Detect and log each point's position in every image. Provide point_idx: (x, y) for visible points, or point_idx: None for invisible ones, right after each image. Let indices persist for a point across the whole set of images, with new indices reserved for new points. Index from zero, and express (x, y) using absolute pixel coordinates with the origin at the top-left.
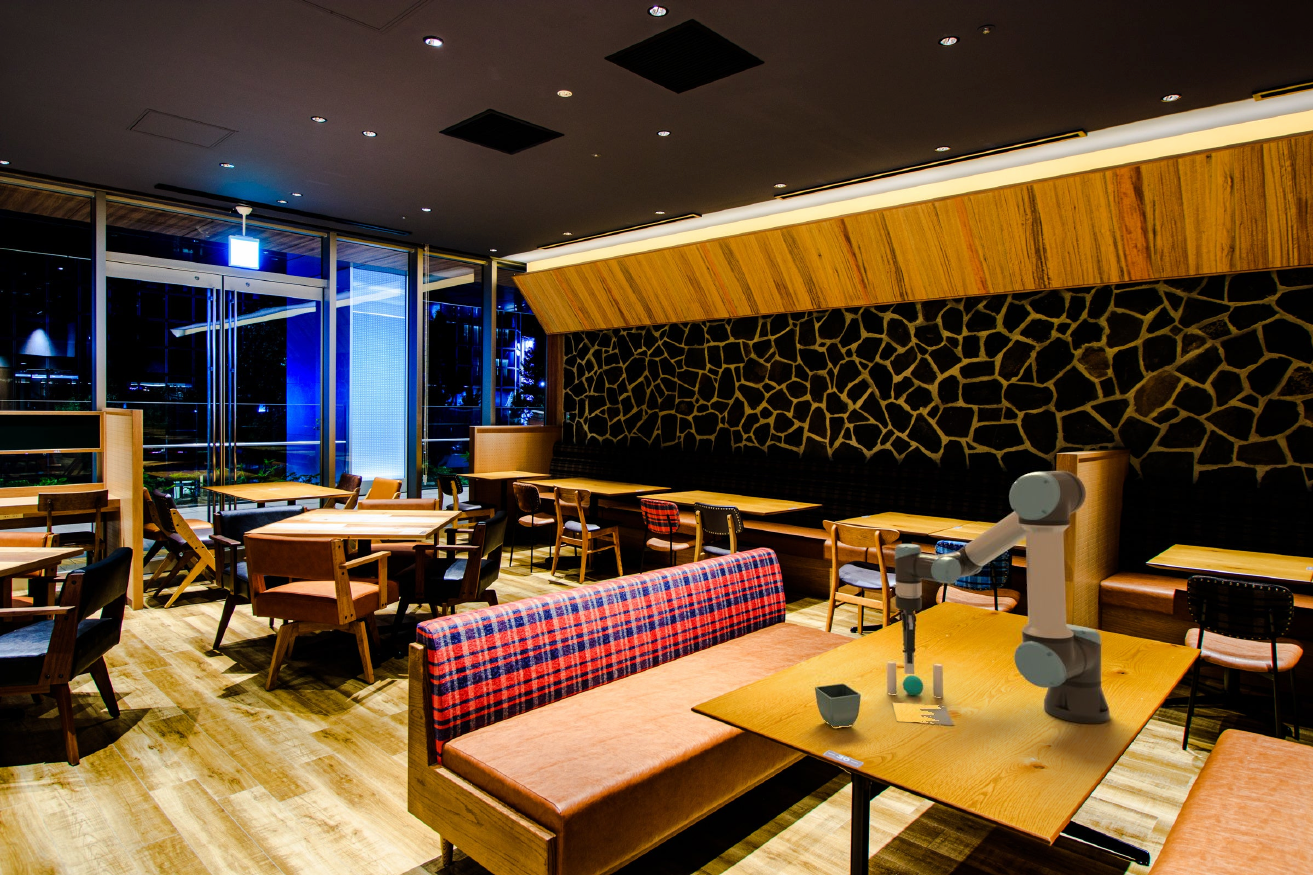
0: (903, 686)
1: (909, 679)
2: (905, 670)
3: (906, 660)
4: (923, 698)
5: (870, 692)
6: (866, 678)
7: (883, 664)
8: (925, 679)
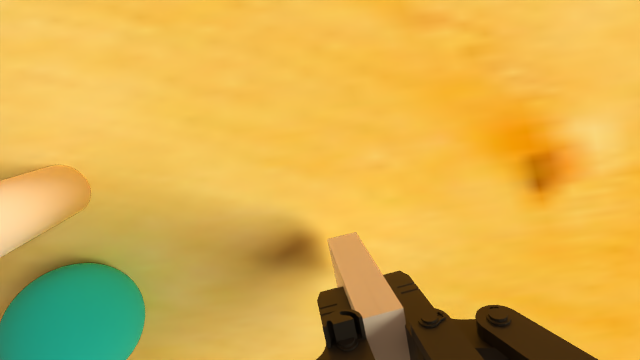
0: (48, 272)
1: (2, 342)
2: (330, 249)
3: (344, 290)
4: None
5: (12, 67)
6: (275, 8)
7: (563, 78)
8: None
